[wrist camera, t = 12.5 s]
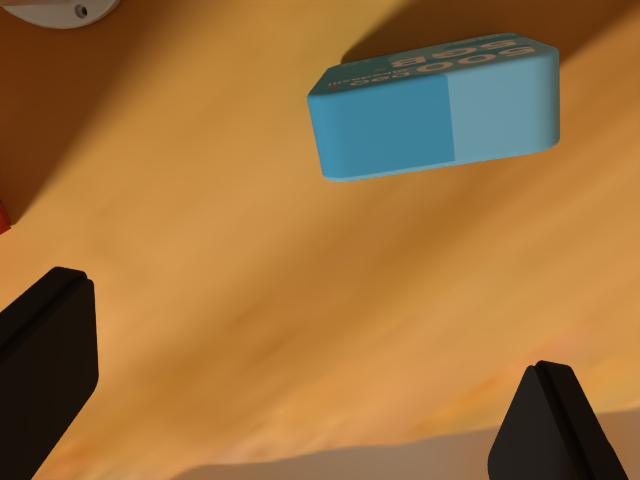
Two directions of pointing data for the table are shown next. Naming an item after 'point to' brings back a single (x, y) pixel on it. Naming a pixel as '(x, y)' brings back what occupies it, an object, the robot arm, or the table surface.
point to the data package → (437, 107)
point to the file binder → (4, 221)
